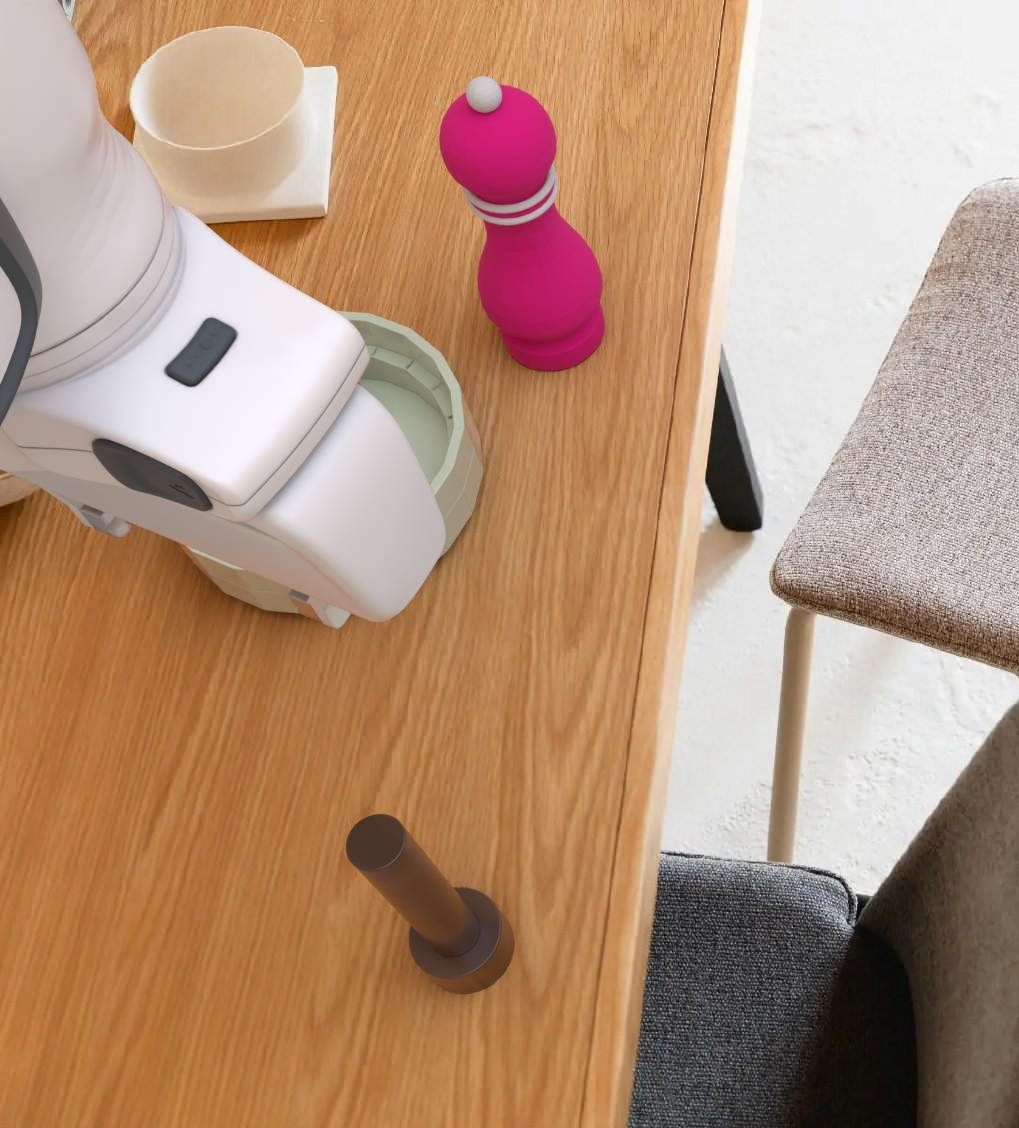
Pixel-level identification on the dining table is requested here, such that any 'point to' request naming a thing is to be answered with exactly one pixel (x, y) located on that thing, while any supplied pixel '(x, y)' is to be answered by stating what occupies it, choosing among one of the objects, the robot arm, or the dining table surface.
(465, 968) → the muddler
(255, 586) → the bowl
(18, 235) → the robot arm
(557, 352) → the pepper mill
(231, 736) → the dining table surface
